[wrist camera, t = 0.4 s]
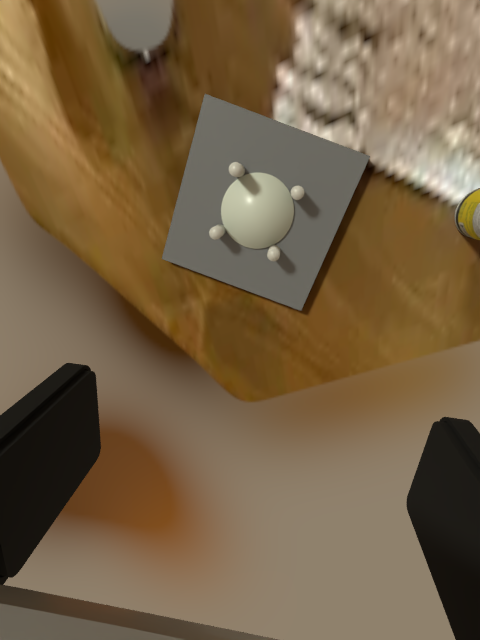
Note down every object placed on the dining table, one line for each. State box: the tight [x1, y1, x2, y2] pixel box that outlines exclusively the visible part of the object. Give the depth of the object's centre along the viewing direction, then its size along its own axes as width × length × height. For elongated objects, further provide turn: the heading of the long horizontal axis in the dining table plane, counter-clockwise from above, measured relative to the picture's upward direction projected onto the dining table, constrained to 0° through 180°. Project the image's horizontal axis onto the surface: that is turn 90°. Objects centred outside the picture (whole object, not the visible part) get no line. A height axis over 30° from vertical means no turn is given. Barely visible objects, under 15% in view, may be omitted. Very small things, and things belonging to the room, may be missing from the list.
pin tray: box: [162, 94, 370, 311], centre depth 34 cm, size 16×16×4 cm
